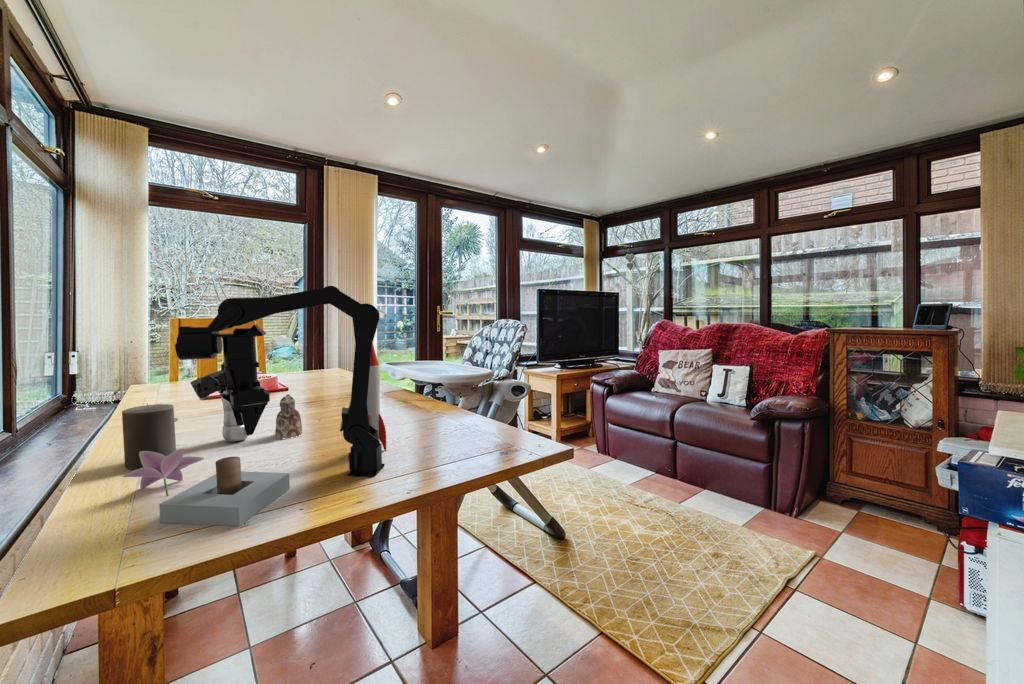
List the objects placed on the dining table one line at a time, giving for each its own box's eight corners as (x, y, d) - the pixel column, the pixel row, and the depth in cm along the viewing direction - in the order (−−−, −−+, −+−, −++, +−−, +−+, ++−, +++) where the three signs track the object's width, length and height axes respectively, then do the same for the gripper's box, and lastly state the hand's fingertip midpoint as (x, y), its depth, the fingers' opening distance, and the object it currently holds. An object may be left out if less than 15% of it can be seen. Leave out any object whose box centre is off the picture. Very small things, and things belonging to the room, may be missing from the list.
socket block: (289, 488, 89) (289, 473, 89) (239, 526, 74) (238, 507, 74) (223, 486, 90) (222, 470, 90) (160, 522, 75) (159, 504, 75)
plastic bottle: (228, 446, 115) (223, 374, 113) (219, 440, 119) (214, 371, 117) (253, 440, 120) (250, 371, 118) (244, 435, 124) (240, 369, 122)
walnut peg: (247, 499, 84) (244, 456, 83) (232, 509, 80) (230, 464, 79) (228, 499, 84) (225, 456, 83) (213, 509, 80) (210, 463, 79)
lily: (214, 483, 94) (204, 443, 96) (185, 484, 83) (175, 439, 85) (153, 507, 91) (144, 464, 93) (115, 511, 80) (105, 463, 82)
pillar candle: (147, 471, 97) (143, 408, 96) (114, 467, 99) (109, 406, 98) (186, 457, 107) (183, 399, 106) (156, 454, 109) (152, 397, 108)
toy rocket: (379, 445, 117) (377, 338, 114) (387, 450, 113) (384, 340, 110) (359, 449, 113) (356, 339, 111) (366, 455, 109) (363, 341, 106)
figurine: (272, 439, 120) (270, 399, 119) (279, 432, 127) (277, 393, 126) (299, 437, 122) (297, 397, 121) (304, 430, 129) (302, 392, 128)
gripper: (186, 356, 89) (192, 428, 90) (199, 366, 75) (205, 450, 77) (247, 352, 96) (251, 418, 98) (268, 361, 83) (272, 437, 84)
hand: (244, 429), depth 89 cm, fingers open, 9 cm apart
